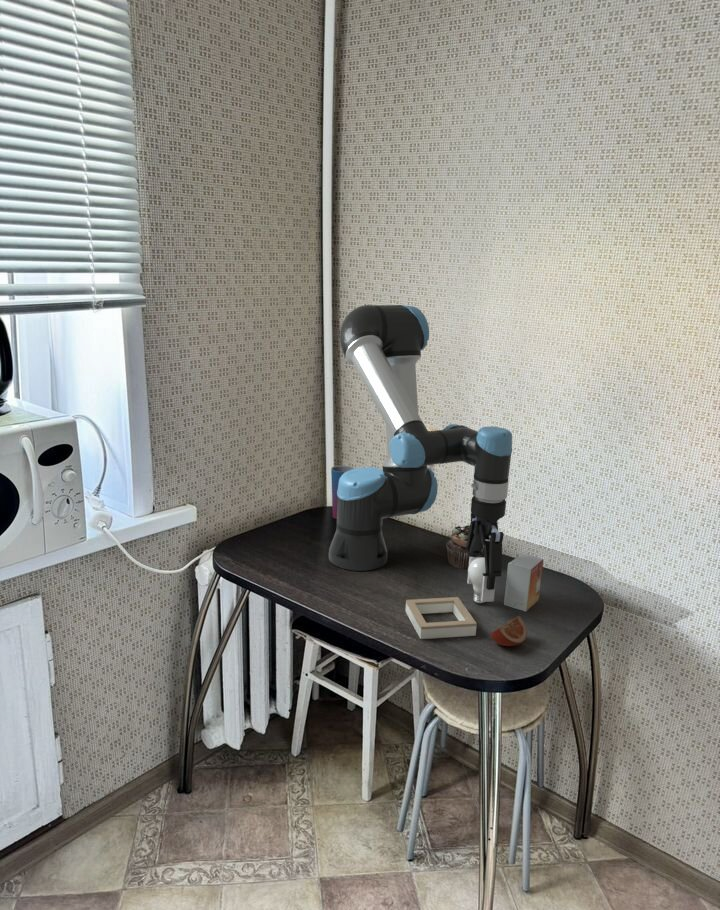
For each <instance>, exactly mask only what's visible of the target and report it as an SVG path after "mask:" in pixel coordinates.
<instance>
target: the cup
mask: <svg viewBox="0 0 720 910" xmlns="http://www.w3.org/2000/svg"><path fill="white" fill-rule="evenodd" d="M352 469H355V468H354V467H353V466H349V465H334V466H332V467H331V469H330V470H331V471H330V472H331V477H330V478H331V506H332V507H331V510H332V518H333V519H336V520H337V501H338V496H337V490H338V484H339V479H340V477H341V476H342V475H343V474H344V473H345V472H347V471H349V470H352Z"/></svg>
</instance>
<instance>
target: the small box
mask: <svg viewBox="0 0 720 910" xmlns="http://www.w3.org/2000/svg"><path fill="white" fill-rule="evenodd" d="M544 561H545V560H544V559H543V558H541V557H538V556H534V555H531V554H527V553H523V552H521V553H519V555H518V556H516V557H515V558H513V559H512V560H511V561H509V562H508V564H507V571H506V581H505V589H504V599H503V600H504V601H503V605H504V606H506V607H510V608H513V609H516V610H519V611H523V612H525V613H526V612H527V611H529V609H531V607H532V606H534V605H535V604H536V603H537V602H538V601H539V600H540V592H541V591H540V590H541V586H542V585H541V584H542V576H543V567H544Z"/></svg>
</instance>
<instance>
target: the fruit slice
mask: <svg viewBox="0 0 720 910" xmlns="http://www.w3.org/2000/svg"><path fill="white" fill-rule="evenodd" d="M489 635H490V638H491V639H492V640H493V641H494V642H495V643H496V644H498V645H500V646H503V647H504V646H505V647H515V646H518V645H521V644H522V643H524V642H525V640H526V638H527V637H528V630H527V627H526V624H525V622H524V620H523V619H522V617H521V615H518V616H516V617H515V618H513V619H511V620H509V621H508V622H507V623H504V624H503V625H502V626H500V627H499V628H497V629H495V630H494V631H492V633H490V634H489Z"/></svg>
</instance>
